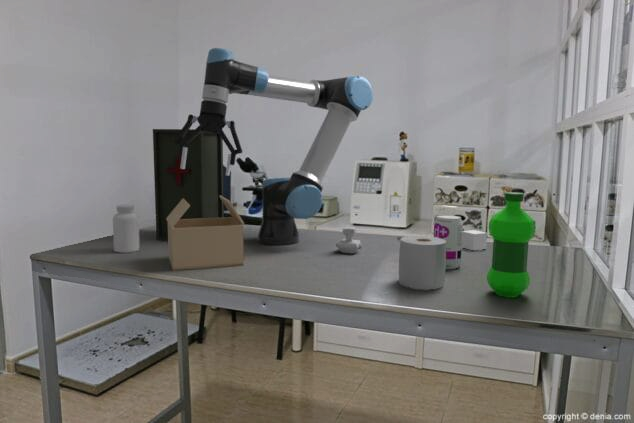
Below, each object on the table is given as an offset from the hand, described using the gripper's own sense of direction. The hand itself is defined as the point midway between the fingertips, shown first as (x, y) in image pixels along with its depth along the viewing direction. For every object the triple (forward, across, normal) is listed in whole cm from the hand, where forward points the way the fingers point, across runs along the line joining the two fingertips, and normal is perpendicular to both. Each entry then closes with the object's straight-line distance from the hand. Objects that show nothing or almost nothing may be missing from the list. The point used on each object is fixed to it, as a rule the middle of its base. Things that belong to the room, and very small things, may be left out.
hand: (205, 172), depth 151 cm
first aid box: (+25, -9, +38) cm, 46 cm away
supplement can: (+17, +76, -5) cm, 78 cm away
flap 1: (+13, -5, -5) cm, 15 cm away
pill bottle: (+30, -24, +13) cm, 41 cm away
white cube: (+13, +92, +20) cm, 95 cm away
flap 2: (+10, +9, 0) cm, 14 cm away
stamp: (+20, +48, +13) cm, 54 cm away
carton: (+27, +4, -1) cm, 27 cm away
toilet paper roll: (+20, +64, -23) cm, 71 cm away
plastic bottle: (+19, +84, -32) cm, 91 cm away
